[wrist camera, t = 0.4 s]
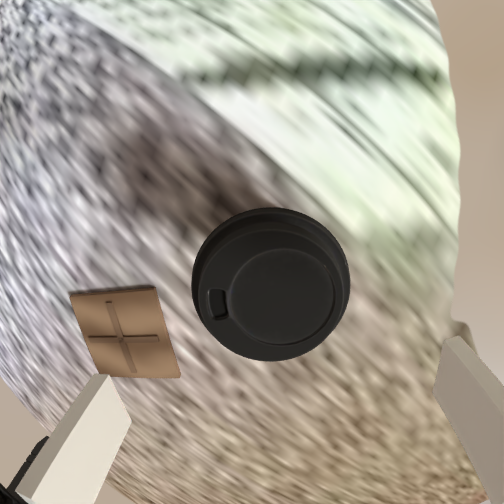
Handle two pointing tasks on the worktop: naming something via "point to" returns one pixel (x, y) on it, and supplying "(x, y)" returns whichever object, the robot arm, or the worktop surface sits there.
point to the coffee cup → (270, 284)
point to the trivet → (126, 333)
